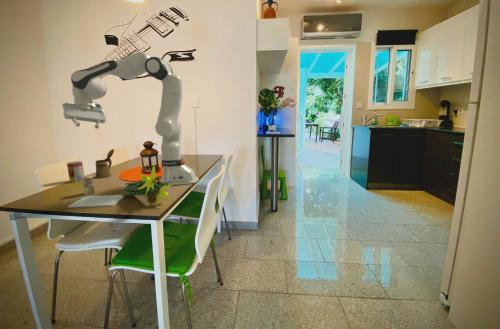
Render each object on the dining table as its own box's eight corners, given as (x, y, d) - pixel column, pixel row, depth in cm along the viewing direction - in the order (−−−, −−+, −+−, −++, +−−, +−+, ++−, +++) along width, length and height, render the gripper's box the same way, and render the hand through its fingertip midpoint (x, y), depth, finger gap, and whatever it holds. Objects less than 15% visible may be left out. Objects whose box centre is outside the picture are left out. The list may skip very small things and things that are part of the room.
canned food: (79, 178, 163) (76, 160, 160) (87, 179, 160) (84, 161, 158) (67, 181, 156) (63, 163, 153) (75, 182, 153) (72, 163, 150)
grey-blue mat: (126, 195, 127) (126, 194, 127) (113, 205, 113) (113, 204, 113) (85, 197, 125) (85, 196, 125) (68, 207, 112) (67, 206, 112)
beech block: (94, 191, 135) (92, 175, 133) (94, 193, 131) (92, 177, 130) (84, 192, 133) (82, 176, 131) (84, 195, 129) (82, 178, 127)
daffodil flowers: (147, 191, 136) (187, 186, 114) (128, 211, 126) (168, 210, 105) (126, 168, 128) (164, 158, 107) (104, 188, 118) (141, 182, 97)
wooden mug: (119, 174, 172) (116, 149, 168) (98, 178, 162) (95, 151, 158) (114, 173, 177) (110, 148, 174) (93, 176, 167) (89, 150, 163)
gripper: (63, 98, 130) (66, 121, 127) (105, 106, 146) (109, 126, 143) (60, 105, 134) (63, 127, 130) (101, 111, 150) (105, 131, 146)
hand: (87, 127), depth 137 cm, fingers open, 8 cm apart
